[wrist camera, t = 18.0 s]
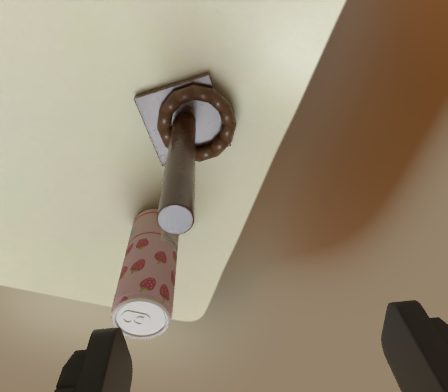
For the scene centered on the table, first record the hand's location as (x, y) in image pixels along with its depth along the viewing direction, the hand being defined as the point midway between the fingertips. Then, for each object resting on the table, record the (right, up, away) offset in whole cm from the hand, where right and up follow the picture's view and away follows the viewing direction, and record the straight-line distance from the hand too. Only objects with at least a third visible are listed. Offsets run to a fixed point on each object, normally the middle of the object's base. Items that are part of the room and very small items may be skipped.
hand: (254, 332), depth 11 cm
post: (-5, +12, +29) cm, 32 cm away
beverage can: (-9, +1, +36) cm, 37 cm away
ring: (-4, +12, +28) cm, 30 cm away
